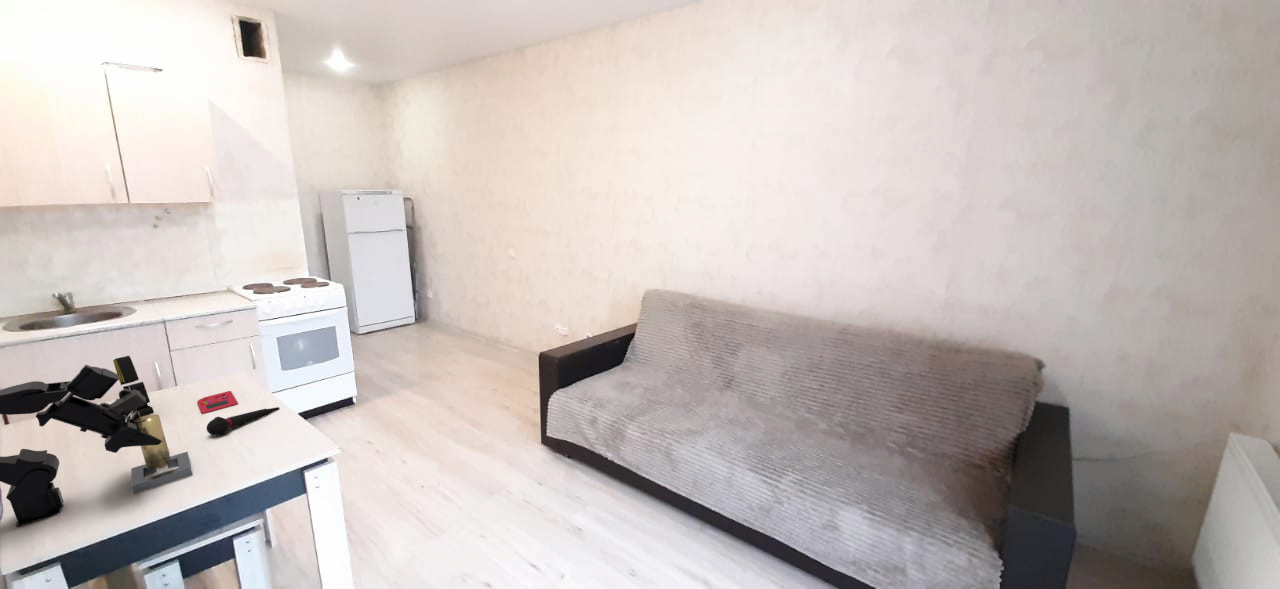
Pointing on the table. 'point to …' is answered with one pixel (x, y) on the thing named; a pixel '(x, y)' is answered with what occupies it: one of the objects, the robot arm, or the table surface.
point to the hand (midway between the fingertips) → (160, 439)
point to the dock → (140, 472)
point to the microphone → (235, 421)
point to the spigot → (154, 453)
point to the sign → (129, 375)
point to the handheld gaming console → (216, 402)
